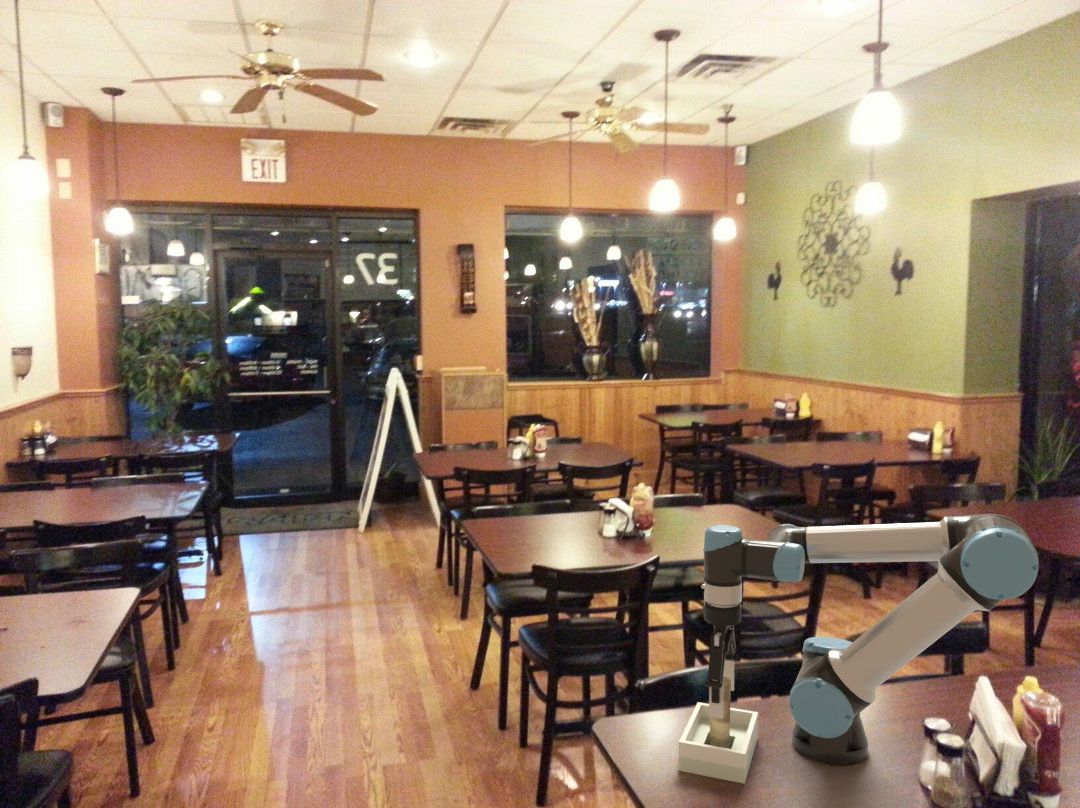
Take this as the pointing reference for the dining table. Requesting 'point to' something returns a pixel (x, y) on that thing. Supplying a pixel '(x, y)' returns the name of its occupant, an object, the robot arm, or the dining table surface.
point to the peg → (722, 720)
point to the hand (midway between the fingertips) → (722, 702)
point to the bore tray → (714, 759)
